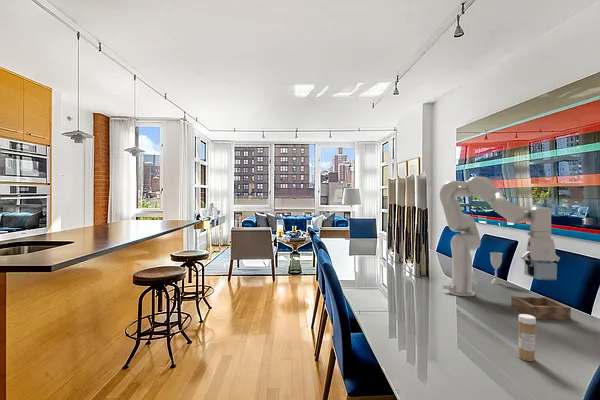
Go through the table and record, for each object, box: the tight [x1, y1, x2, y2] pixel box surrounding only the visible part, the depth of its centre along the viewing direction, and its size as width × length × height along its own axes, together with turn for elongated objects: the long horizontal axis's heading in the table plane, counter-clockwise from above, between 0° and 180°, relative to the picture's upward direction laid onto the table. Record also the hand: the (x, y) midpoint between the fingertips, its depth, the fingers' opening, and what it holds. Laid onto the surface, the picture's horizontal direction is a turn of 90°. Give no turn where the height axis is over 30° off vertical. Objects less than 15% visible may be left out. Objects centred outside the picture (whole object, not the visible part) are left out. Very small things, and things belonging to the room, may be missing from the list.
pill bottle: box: [517, 313, 537, 362], centre depth 108 cm, size 5×5×13 cm
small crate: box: [524, 258, 558, 281], centre depth 152 cm, size 7×11×7 cm, turn 177°
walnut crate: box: [510, 295, 572, 321], centre depth 152 cm, size 16×16×5 cm
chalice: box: [489, 251, 504, 285], centre depth 206 cm, size 7×7×18 cm
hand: (540, 275), depth 152 cm, fingers closed on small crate, 7 cm apart
